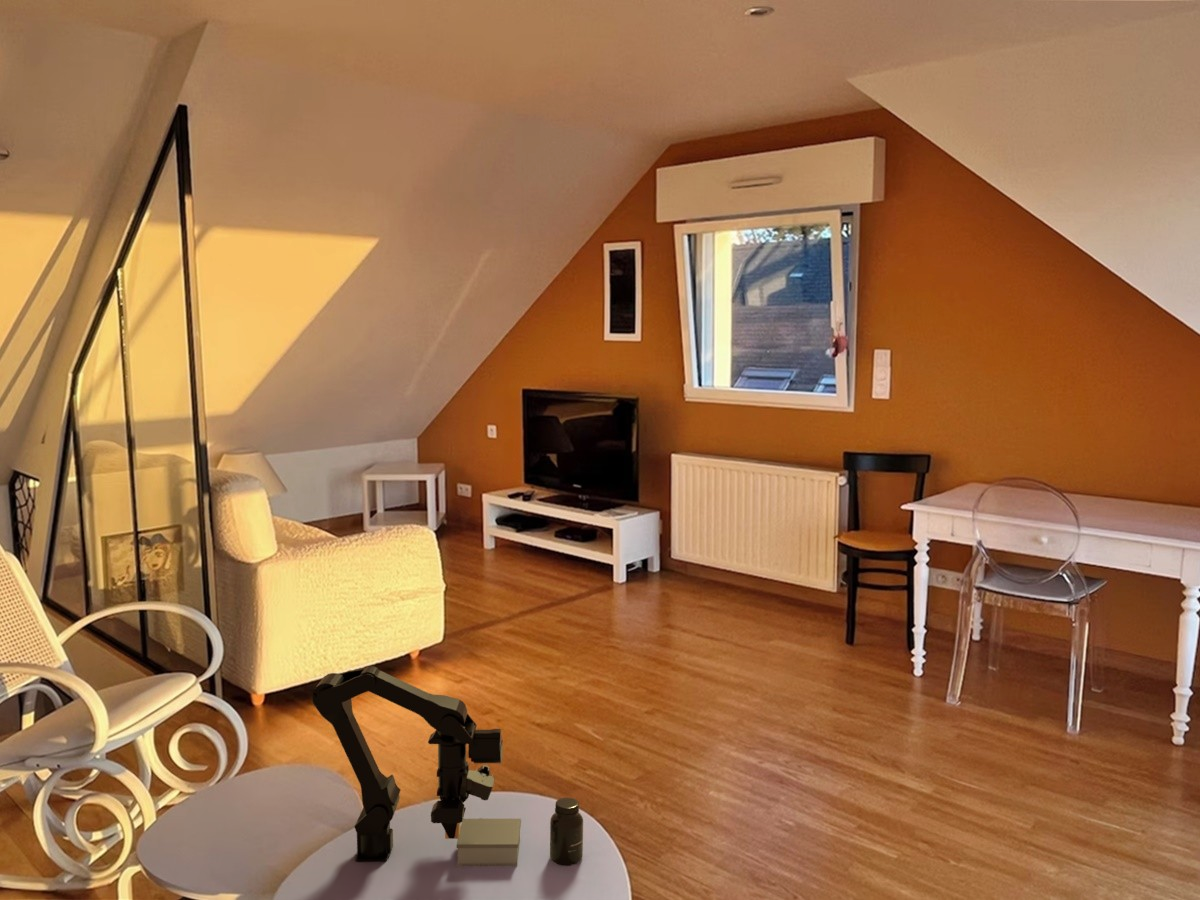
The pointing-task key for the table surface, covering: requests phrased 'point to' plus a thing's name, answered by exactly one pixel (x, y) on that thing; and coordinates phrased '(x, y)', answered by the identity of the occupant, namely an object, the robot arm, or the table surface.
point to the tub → (488, 856)
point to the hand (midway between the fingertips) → (452, 833)
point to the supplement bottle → (566, 833)
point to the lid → (487, 833)
